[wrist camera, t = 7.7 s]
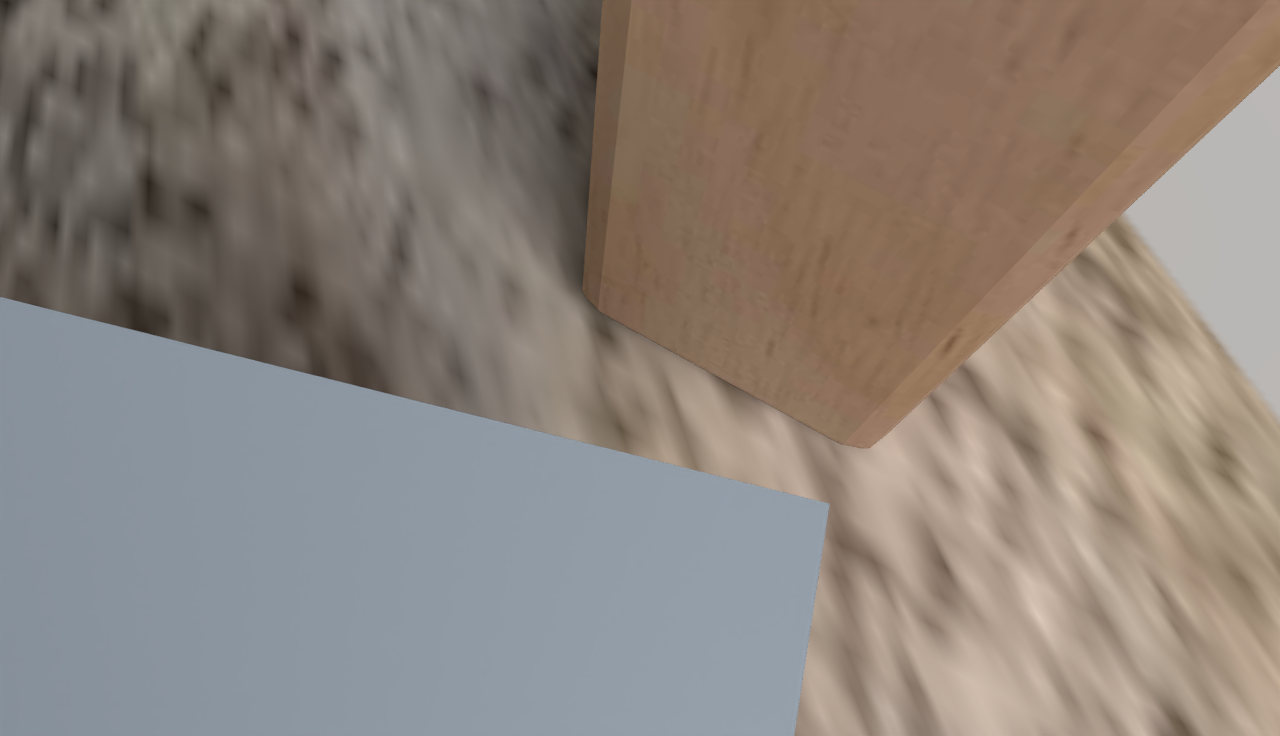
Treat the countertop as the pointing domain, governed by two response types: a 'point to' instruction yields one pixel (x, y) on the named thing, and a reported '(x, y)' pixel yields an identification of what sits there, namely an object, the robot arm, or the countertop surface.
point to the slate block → (365, 561)
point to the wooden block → (881, 174)
